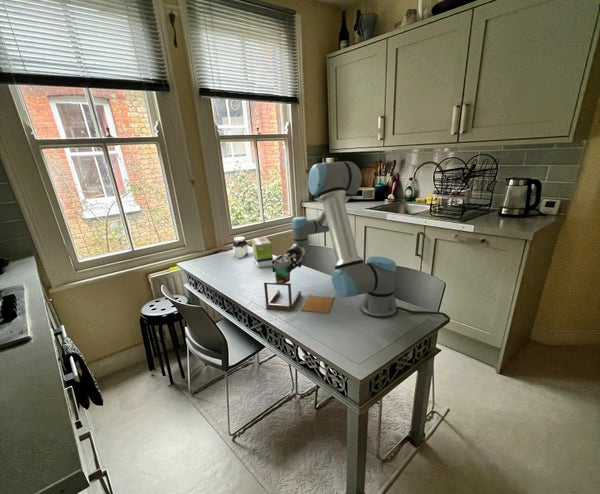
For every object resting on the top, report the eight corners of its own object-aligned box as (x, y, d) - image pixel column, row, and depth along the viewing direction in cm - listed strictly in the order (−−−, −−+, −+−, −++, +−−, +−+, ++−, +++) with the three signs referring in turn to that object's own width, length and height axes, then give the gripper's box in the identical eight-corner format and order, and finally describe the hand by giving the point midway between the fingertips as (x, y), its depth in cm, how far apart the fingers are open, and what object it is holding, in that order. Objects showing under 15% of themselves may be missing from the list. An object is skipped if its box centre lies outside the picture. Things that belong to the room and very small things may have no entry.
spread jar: (244, 251, 223) (242, 235, 219) (253, 255, 215) (251, 238, 211) (229, 255, 217) (227, 239, 212) (238, 259, 209) (235, 242, 204)
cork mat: (333, 298, 150) (333, 297, 149) (327, 313, 136) (327, 312, 136) (309, 296, 153) (309, 295, 152) (301, 310, 139) (301, 310, 139)
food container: (289, 285, 138) (287, 264, 134) (275, 285, 139) (273, 263, 135) (295, 275, 149) (294, 255, 145) (282, 274, 150) (281, 254, 146)
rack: (301, 295, 154) (300, 270, 148) (291, 311, 139) (290, 284, 134) (277, 293, 157) (275, 269, 151) (266, 308, 143) (263, 282, 137)
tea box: (253, 260, 205) (251, 238, 199) (268, 258, 208) (266, 236, 201) (257, 268, 192) (255, 244, 186) (273, 265, 194) (271, 242, 188)
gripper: (314, 261, 156) (302, 279, 135) (277, 259, 161) (261, 276, 140) (314, 246, 153) (302, 262, 132) (276, 245, 158) (259, 260, 137)
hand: (281, 269), depth 136 cm, fingers closed on food container, 6 cm apart
